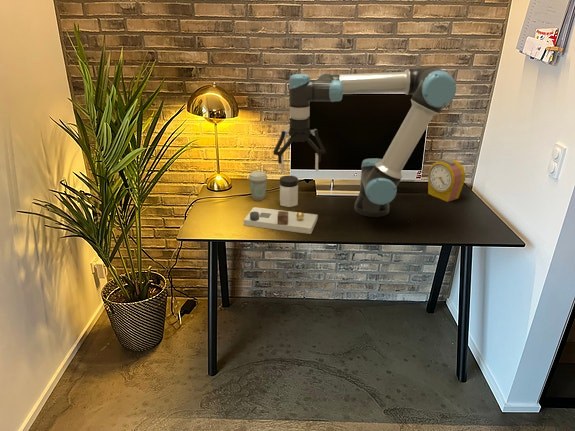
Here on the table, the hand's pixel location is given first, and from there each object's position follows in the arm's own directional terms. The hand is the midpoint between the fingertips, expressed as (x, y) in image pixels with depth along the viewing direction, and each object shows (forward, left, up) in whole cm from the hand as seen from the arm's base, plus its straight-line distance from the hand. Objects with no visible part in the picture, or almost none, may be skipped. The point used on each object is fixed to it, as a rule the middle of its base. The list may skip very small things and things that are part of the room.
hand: (299, 170), depth 180 cm
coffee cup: (+24, -19, -23) cm, 38 cm away
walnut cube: (+5, +8, -20) cm, 22 cm away
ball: (-1, +3, -18) cm, 19 cm away
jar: (+9, -17, -23) cm, 29 cm away
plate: (+7, +3, -22) cm, 23 cm away
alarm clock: (-59, -45, -23) cm, 78 cm away
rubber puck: (+17, +8, -20) cm, 27 cm away
